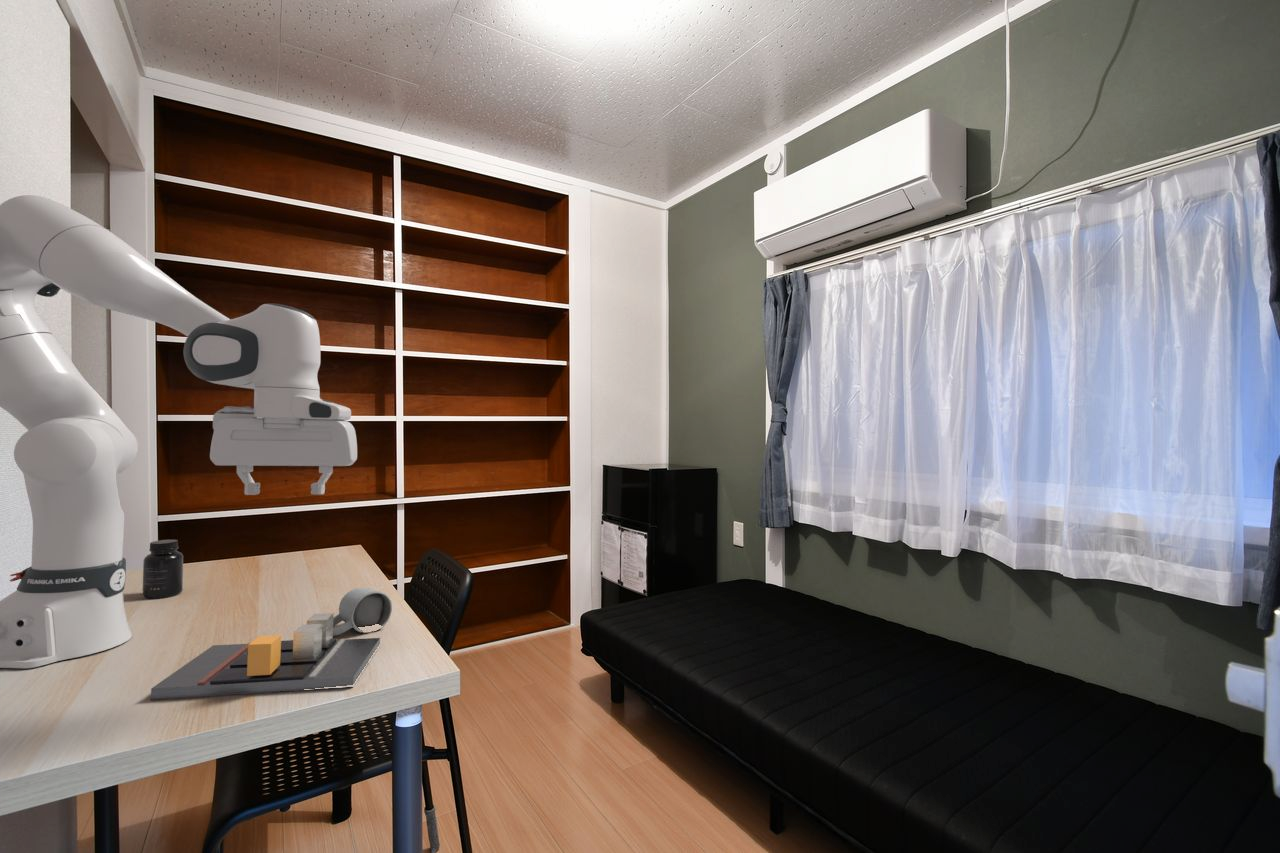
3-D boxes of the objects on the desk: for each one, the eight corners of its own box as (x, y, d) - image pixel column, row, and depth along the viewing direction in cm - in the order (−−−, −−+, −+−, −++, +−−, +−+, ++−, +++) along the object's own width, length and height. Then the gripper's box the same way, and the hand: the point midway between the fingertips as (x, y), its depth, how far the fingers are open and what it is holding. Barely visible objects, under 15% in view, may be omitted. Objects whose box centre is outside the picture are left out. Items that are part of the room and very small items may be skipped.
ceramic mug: (373, 618, 114) (374, 580, 114) (392, 627, 108) (393, 588, 108) (316, 631, 105) (317, 591, 105) (334, 643, 100) (335, 600, 100)
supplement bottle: (152, 591, 127) (154, 538, 127) (188, 590, 129) (190, 538, 129) (135, 600, 120) (137, 544, 120) (173, 598, 122) (175, 543, 122)
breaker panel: (150, 700, 77) (152, 653, 78) (212, 654, 93) (214, 615, 93) (353, 687, 83) (354, 643, 83) (379, 646, 99) (381, 610, 99)
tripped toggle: (246, 676, 81) (248, 644, 81) (257, 666, 84) (259, 636, 84) (269, 674, 81) (271, 643, 81) (280, 664, 85) (281, 635, 85)
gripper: (202, 404, 83) (199, 497, 83) (349, 408, 87) (347, 496, 87) (224, 406, 90) (222, 492, 90) (361, 409, 94) (359, 492, 94)
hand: (285, 494), depth 88 cm, fingers open, 8 cm apart
